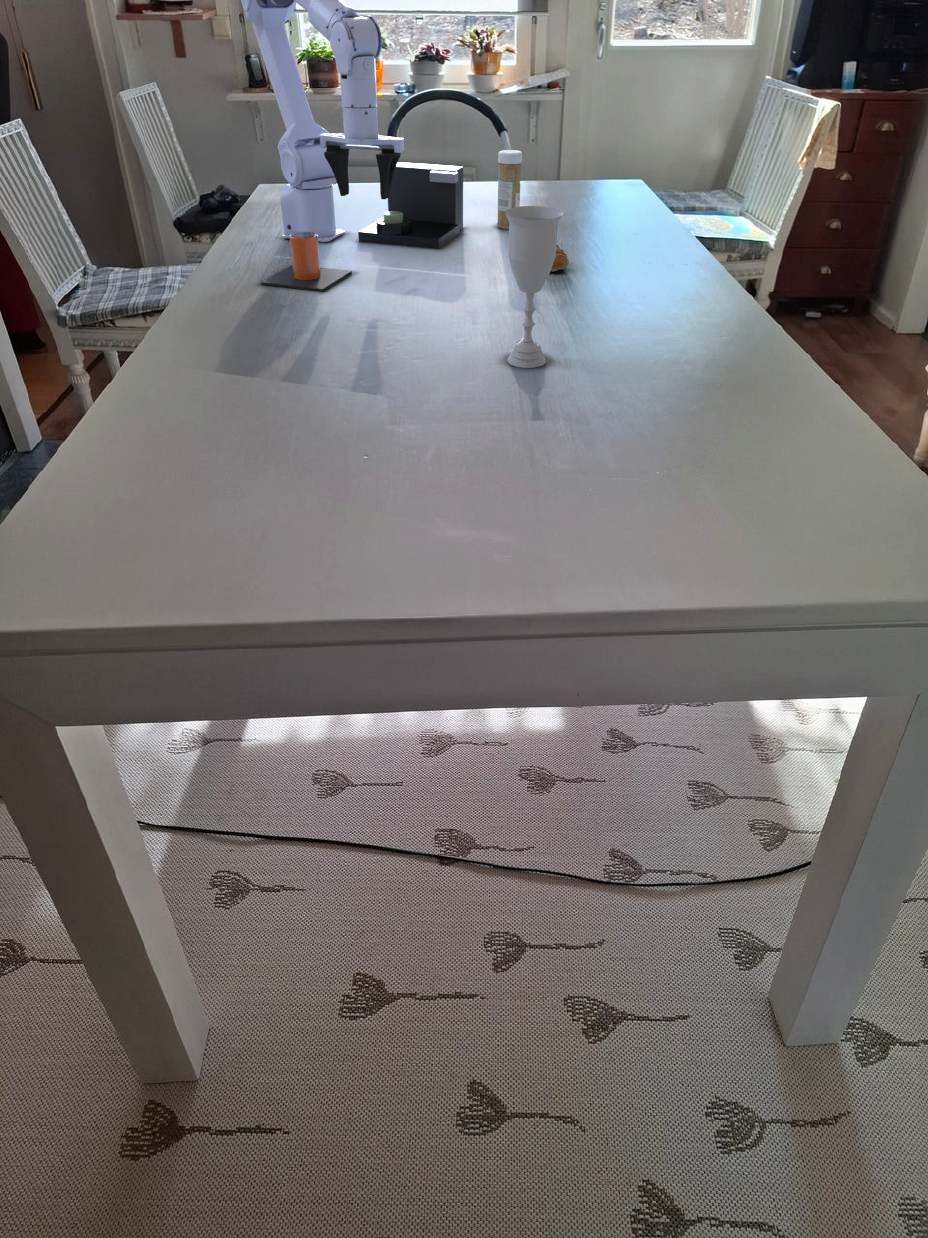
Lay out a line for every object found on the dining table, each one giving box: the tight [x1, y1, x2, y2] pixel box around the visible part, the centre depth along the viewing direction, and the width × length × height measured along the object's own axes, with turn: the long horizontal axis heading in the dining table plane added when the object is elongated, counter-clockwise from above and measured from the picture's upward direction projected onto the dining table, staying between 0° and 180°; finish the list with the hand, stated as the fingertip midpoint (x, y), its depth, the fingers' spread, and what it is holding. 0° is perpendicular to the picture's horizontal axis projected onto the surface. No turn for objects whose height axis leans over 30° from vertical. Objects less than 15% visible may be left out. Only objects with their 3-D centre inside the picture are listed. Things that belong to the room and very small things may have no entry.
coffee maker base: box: [357, 217, 461, 250], centre depth 164 cm, size 16×12×4 cm
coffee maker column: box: [387, 161, 464, 231], centre depth 168 cm, size 14×6×11 cm, turn 71°
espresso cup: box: [289, 232, 321, 280], centre depth 141 cm, size 4×4×6 cm
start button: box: [383, 211, 403, 224], centre depth 161 cm, size 4×4×2 cm
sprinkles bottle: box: [496, 149, 523, 230], centre depth 169 cm, size 5×5×13 cm
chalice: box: [506, 205, 563, 369], centre depth 108 cm, size 7×7×18 cm
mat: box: [260, 264, 353, 293], centre depth 143 cm, size 11×11×1 cm
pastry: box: [550, 243, 570, 273], centre depth 149 cm, size 9×7×4 cm
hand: (364, 196), depth 150 cm, fingers open, 7 cm apart
